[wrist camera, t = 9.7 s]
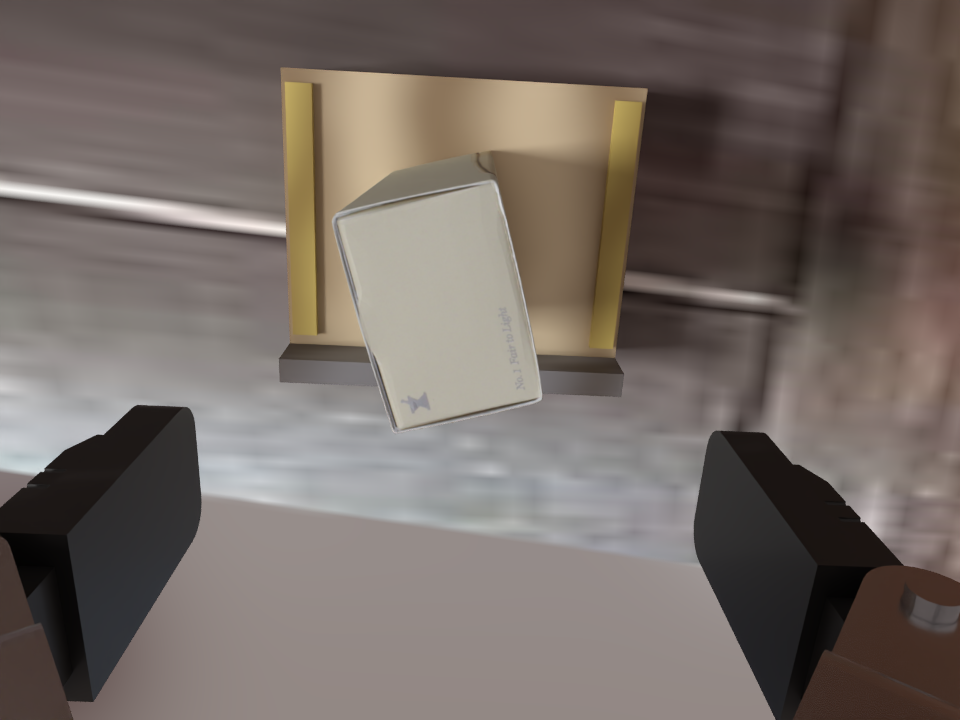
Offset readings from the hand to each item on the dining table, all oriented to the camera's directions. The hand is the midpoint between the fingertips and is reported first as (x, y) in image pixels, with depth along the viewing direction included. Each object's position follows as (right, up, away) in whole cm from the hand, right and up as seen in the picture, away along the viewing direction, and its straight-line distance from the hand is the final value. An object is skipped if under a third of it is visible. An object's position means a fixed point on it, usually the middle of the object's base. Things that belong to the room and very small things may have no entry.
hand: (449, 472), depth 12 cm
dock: (0, +8, +23) cm, 24 cm away
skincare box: (-1, +7, +19) cm, 20 cm away
